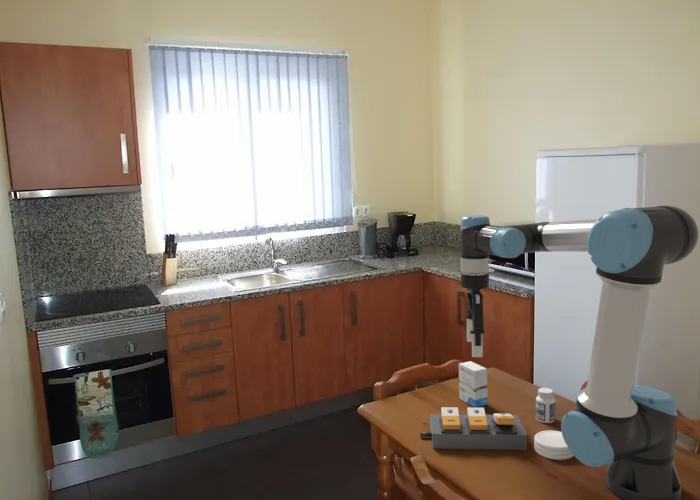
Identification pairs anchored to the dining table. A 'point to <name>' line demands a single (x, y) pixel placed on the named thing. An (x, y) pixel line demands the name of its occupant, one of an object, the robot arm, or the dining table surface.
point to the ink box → (473, 384)
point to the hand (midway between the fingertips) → (474, 348)
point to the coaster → (551, 445)
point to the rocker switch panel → (477, 435)
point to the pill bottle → (545, 406)
